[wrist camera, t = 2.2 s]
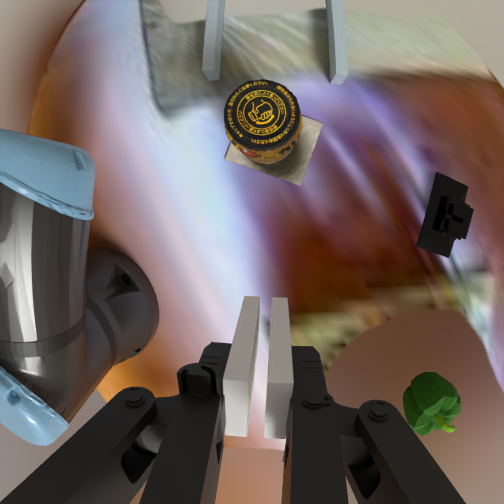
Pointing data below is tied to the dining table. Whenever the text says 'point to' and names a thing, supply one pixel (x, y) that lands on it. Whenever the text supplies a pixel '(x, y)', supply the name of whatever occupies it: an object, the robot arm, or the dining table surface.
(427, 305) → the dining table surface
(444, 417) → the bell pepper
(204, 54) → the bay
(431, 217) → the black angular block
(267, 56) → the dining table surface
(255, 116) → the condiment
